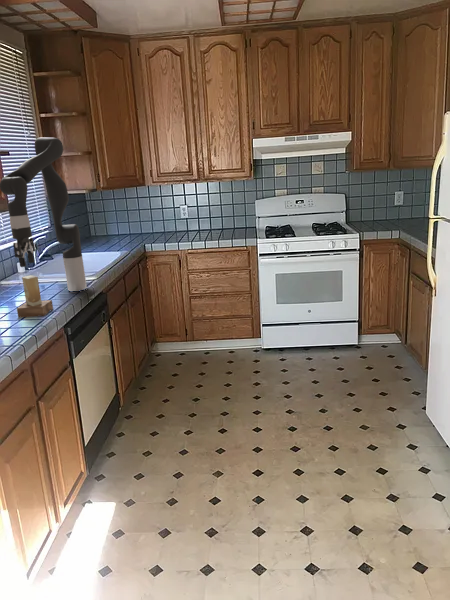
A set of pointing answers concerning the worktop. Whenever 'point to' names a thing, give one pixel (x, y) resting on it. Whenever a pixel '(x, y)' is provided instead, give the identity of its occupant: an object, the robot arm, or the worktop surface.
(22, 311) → the block
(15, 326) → the worktop surface
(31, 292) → the skincare box
